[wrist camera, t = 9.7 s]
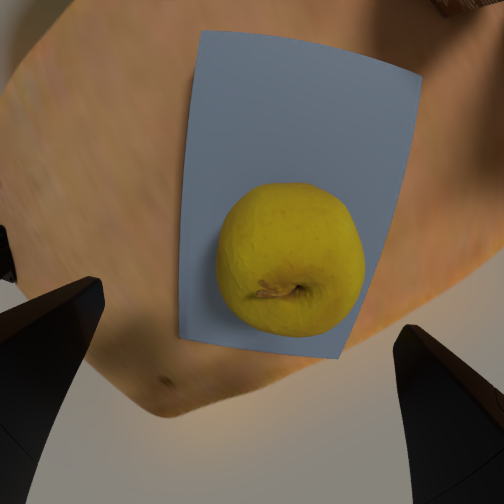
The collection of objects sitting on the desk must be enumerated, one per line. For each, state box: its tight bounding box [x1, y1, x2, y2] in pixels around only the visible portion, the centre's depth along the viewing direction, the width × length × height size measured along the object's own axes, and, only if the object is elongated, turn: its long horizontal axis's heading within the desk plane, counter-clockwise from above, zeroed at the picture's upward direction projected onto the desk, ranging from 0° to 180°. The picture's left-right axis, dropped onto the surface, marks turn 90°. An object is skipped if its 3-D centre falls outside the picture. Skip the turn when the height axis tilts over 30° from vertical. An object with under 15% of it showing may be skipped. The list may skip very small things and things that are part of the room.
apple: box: [216, 182, 365, 338], centre depth 13 cm, size 6×6×8 cm
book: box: [179, 31, 423, 359], centre depth 18 cm, size 12×20×3 cm, turn 172°
